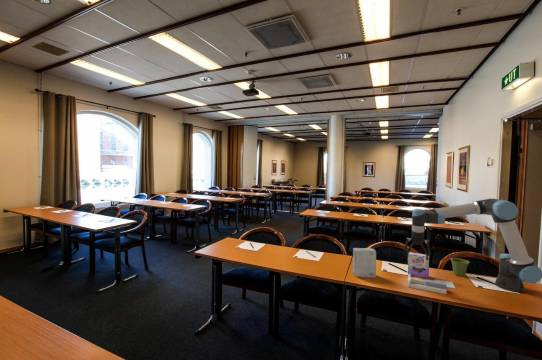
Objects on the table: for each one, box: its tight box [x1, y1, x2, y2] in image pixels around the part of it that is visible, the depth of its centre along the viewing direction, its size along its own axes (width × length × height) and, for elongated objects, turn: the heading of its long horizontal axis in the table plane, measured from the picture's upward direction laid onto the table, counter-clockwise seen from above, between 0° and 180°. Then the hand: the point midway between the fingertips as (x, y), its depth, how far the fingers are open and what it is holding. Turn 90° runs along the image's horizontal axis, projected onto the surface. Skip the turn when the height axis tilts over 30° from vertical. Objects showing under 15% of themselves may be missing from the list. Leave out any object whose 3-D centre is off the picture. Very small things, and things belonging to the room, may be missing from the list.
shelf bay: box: [407, 273, 447, 295], centre depth 177 cm, size 22×11×5 cm, turn 64°
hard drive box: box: [352, 247, 377, 279], centre depth 196 cm, size 16×8×20 cm, turn 84°
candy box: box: [407, 251, 430, 279], centre depth 198 cm, size 14×6×16 cm, turn 62°
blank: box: [424, 278, 448, 290], centre depth 175 cm, size 12×4×5 cm, turn 64°
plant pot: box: [450, 257, 470, 277], centre depth 200 cm, size 12×12×11 cm
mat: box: [434, 278, 457, 290], centre depth 183 cm, size 11×11×1 cm
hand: (416, 263), depth 180 cm, fingers open, 9 cm apart
